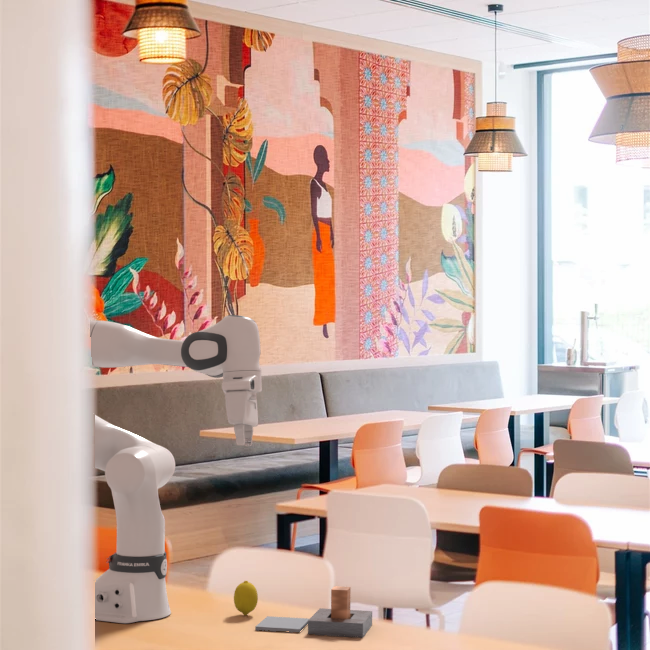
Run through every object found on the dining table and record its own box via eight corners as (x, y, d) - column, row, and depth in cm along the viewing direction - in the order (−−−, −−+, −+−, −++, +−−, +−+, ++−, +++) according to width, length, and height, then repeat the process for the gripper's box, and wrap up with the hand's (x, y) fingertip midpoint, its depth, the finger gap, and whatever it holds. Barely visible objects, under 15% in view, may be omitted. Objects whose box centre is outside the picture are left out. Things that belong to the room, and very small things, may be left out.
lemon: (254, 618, 242) (254, 583, 243) (230, 617, 244) (231, 582, 244) (260, 613, 248) (260, 578, 248) (237, 612, 249) (237, 577, 249)
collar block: (307, 634, 228) (307, 620, 228) (319, 621, 240) (319, 608, 240) (362, 637, 226) (362, 623, 226) (372, 624, 238) (372, 611, 238)
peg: (331, 631, 232) (331, 589, 232) (334, 627, 235) (334, 586, 235) (347, 632, 231) (347, 590, 231) (350, 628, 234) (350, 587, 235)
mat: (255, 630, 232) (255, 626, 232) (267, 619, 242) (267, 616, 242) (299, 632, 230) (299, 629, 230) (310, 622, 239) (310, 618, 240)
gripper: (237, 389, 254) (239, 447, 252) (220, 382, 234) (222, 445, 232) (263, 387, 254) (265, 446, 252) (248, 381, 233) (250, 444, 232)
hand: (244, 445), depth 242 cm, fingers open, 8 cm apart
